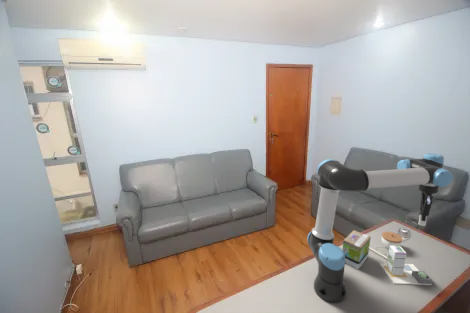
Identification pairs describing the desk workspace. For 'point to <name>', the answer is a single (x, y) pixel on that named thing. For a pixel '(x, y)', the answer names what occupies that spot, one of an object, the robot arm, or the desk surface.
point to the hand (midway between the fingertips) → (421, 224)
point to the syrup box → (396, 260)
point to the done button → (422, 275)
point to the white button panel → (408, 276)
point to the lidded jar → (391, 239)
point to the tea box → (356, 248)
